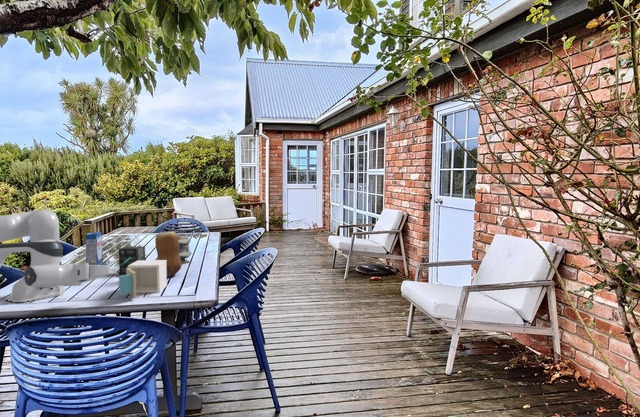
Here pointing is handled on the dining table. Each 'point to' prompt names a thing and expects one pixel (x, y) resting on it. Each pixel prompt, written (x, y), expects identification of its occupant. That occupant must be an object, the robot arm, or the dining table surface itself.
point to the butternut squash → (169, 251)
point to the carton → (150, 275)
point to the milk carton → (94, 248)
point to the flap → (128, 283)
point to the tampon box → (130, 256)
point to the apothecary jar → (184, 248)
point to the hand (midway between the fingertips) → (110, 273)
